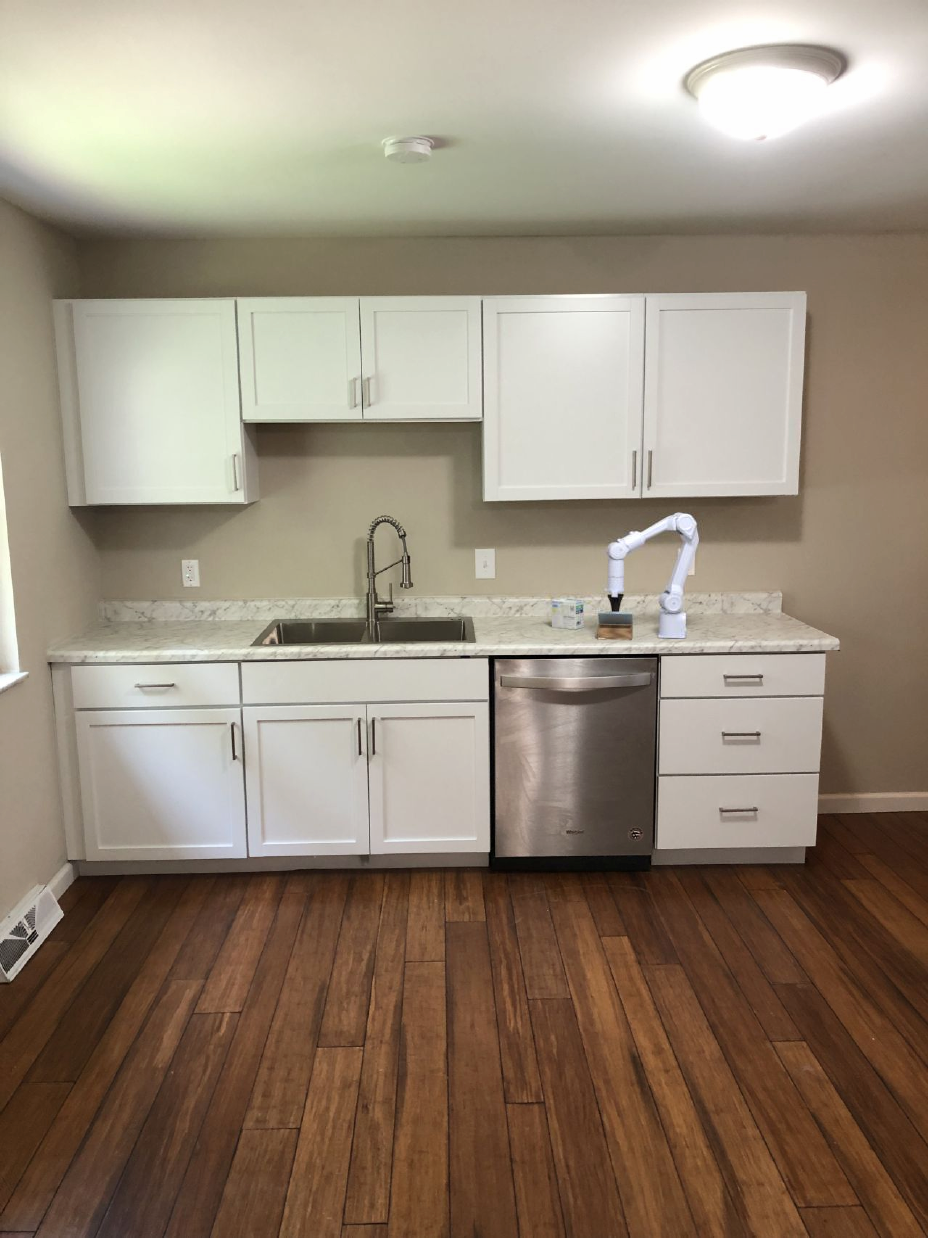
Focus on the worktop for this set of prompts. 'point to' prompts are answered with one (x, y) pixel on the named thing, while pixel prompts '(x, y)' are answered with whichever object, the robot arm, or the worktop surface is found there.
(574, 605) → the light bulb box
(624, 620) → the lid
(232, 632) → the worktop surface
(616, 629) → the crate
